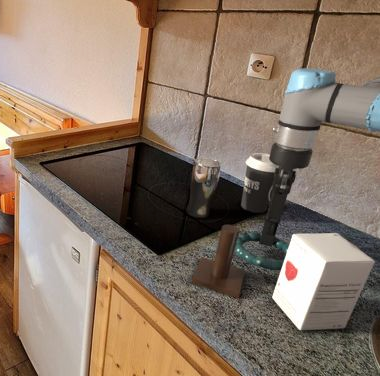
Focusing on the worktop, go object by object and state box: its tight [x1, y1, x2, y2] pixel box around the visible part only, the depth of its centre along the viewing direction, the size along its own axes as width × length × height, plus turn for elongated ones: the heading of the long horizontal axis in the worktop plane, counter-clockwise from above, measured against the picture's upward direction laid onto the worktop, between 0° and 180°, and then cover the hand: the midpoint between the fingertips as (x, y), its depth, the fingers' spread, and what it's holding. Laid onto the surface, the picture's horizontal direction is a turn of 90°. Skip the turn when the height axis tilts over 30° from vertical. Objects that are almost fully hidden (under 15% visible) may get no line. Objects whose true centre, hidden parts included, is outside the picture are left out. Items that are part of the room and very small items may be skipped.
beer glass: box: [185, 157, 222, 219], centre depth 108 cm, size 7×7×15 cm
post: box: [191, 224, 246, 299], centre depth 82 cm, size 9×9×12 cm
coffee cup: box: [240, 152, 279, 214], centre depth 112 cm, size 10×10×15 cm
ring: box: [234, 232, 290, 271], centre depth 90 cm, size 13×13×2 cm
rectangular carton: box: [271, 232, 376, 331], centre depth 73 cm, size 9×9×15 cm
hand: (266, 241), depth 94 cm, fingers closed on ring, 2 cm apart
